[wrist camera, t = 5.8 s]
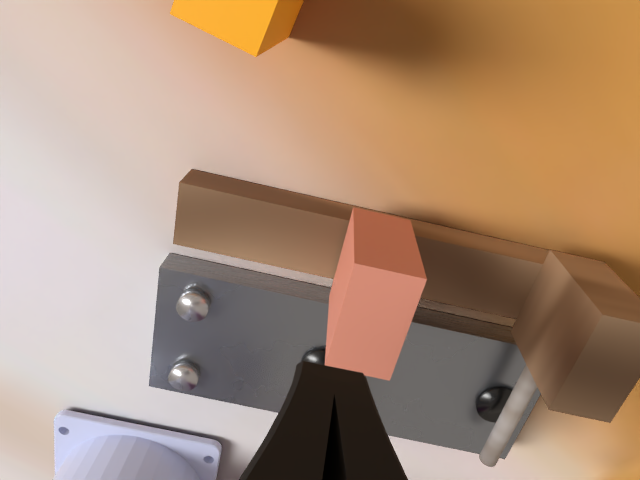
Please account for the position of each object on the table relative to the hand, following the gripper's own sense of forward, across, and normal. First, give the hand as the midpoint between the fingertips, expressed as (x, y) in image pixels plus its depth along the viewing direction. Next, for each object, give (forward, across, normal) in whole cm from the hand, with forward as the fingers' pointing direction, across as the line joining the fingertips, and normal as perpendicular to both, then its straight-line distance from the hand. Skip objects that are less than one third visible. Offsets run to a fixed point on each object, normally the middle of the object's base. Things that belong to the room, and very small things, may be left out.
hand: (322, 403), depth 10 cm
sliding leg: (+8, -1, +3) cm, 9 cm away
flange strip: (+10, -2, +6) cm, 12 cm away
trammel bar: (+10, -2, +3) cm, 10 cm away
